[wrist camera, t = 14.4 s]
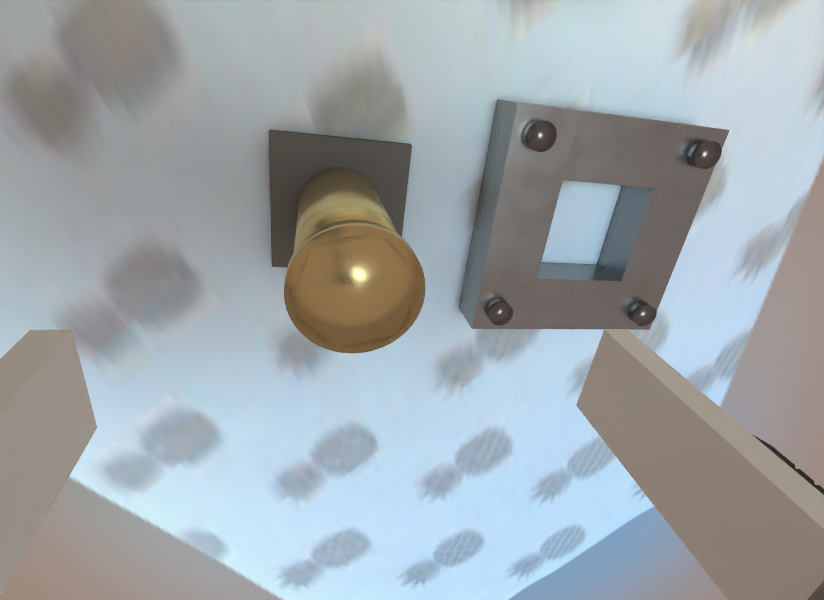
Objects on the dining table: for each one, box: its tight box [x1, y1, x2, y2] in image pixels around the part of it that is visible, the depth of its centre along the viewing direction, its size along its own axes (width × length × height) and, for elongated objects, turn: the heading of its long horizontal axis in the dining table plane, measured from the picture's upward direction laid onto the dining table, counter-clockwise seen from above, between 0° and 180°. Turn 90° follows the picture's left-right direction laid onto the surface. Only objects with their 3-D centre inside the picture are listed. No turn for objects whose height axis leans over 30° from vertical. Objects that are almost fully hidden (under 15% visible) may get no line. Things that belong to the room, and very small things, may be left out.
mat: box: [269, 130, 412, 267], centre depth 27 cm, size 8×8×1 cm
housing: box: [459, 100, 729, 329], centre depth 30 cm, size 14×14×4 cm
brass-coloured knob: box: [284, 167, 425, 353], centre depth 22 cm, size 5×5×12 cm
